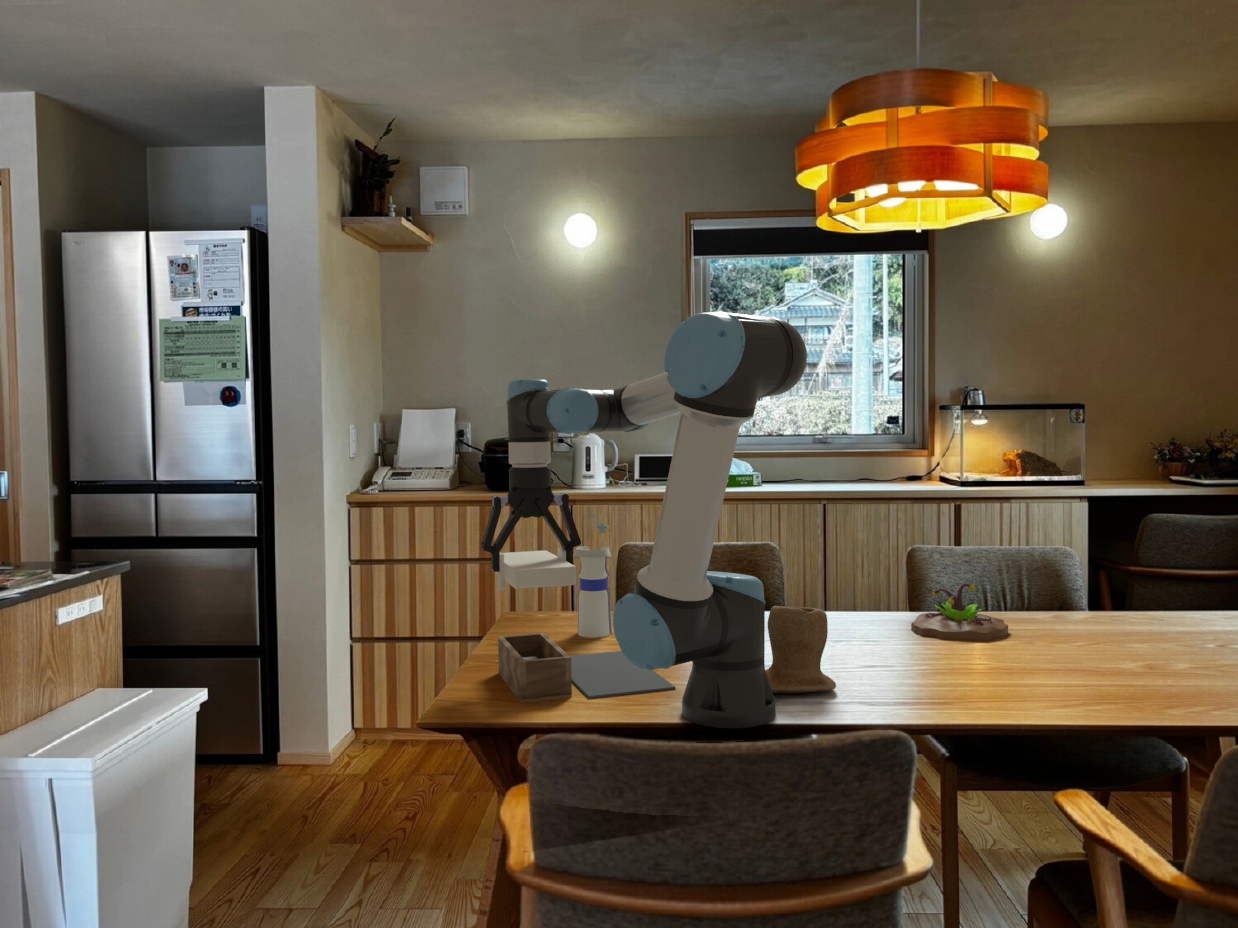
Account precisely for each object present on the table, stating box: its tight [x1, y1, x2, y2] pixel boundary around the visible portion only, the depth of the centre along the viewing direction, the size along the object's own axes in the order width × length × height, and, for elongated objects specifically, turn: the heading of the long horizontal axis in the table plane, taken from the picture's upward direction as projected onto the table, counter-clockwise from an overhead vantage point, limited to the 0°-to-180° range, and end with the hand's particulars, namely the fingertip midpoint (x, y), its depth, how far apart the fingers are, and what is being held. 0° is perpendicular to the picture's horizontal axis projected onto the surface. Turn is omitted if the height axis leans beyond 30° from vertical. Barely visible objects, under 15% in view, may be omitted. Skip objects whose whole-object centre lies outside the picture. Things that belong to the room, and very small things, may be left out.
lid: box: [491, 549, 577, 590], centre depth 172 cm, size 22×11×3 cm, turn 18°
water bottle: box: [572, 520, 613, 639], centre depth 213 cm, size 8×9×25 cm
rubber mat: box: [569, 650, 676, 700], centre depth 180 cm, size 28×16×1 cm, turn 18°
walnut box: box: [497, 632, 573, 704], centre depth 173 cm, size 20×9×7 cm, turn 18°
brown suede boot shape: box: [765, 605, 837, 694], centre depth 168 cm, size 15×12×15 cm
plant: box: [910, 582, 1009, 642], centre depth 211 cm, size 20×20×11 cm
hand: (532, 587), depth 173 cm, fingers closed on lid, 11 cm apart
